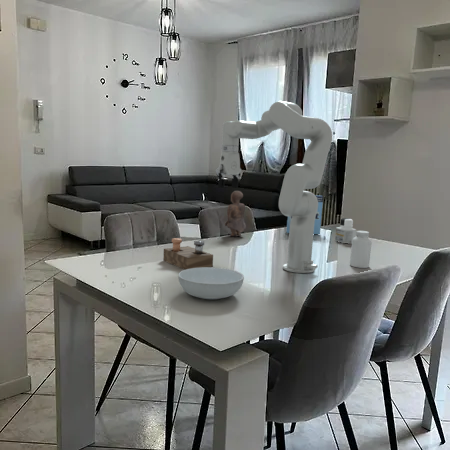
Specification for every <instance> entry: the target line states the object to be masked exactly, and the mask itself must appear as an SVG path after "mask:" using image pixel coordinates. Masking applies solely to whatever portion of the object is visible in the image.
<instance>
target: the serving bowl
mask: <svg viewBox="0 0 450 450" xmlns="http://www.w3.org/2000/svg"><path fill="white" fill-rule="evenodd" d="M177 275H178V276H177V277H178V282H179V285H180V288H181V289H183V291H184V292H185V293H187V294H188V295H190V296H193V297H196V298H198V299H199V298H200V299H202V300H219V299H224V298H228V297H232V296H234V295H235V294H236V293H238V292H239V291H240V289H241V288H242V286H243V283H244V279H245V276H244V274H243V273H241V272H239V271H237V270H234V269H229V268H225V267H200V268H191V269H186V270H185V269H182V270H181V271H180V272H179V273H178V274H177Z"/></svg>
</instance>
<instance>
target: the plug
mask: <svg viewBox="0 0 450 450" xmlns="http://www.w3.org/2000/svg"><path fill="white" fill-rule="evenodd" d="M193 245H194V248H195V254H197V255H199V254H203V250H204V249H203V248H204V246H205V241H203V240H194V241H193Z"/></svg>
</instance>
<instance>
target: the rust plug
mask: <svg viewBox="0 0 450 450" xmlns="http://www.w3.org/2000/svg"><path fill="white" fill-rule="evenodd" d="M182 241H183V239H182V238H178V237H177V238H175V237H174V238H171V243H172V248H173V252H179V251H180V247H181V243H182Z"/></svg>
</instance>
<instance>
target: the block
mask: <svg viewBox="0 0 450 450" xmlns="http://www.w3.org/2000/svg"><path fill="white" fill-rule="evenodd" d="M162 259H163V262H166V263H168V264H169V265H170V264H171V265H174V266H175V267H178V268H180V269H182V270H186V269H191V268H200V267H213V266H214V254H212V253H209V252H206V251H203V254H199V255H197V254H195V247H192V246H189V245H187V246H180V251H179V252H173V247H167V248H163V258H162Z"/></svg>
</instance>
